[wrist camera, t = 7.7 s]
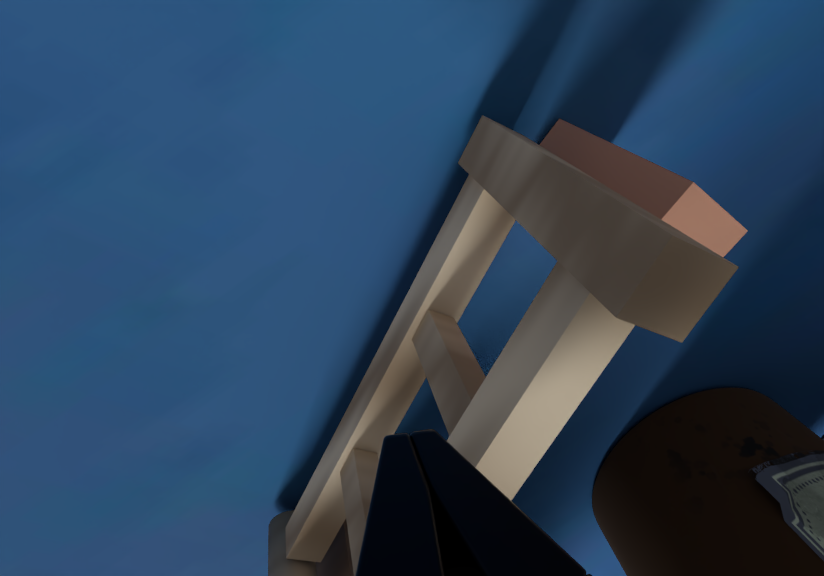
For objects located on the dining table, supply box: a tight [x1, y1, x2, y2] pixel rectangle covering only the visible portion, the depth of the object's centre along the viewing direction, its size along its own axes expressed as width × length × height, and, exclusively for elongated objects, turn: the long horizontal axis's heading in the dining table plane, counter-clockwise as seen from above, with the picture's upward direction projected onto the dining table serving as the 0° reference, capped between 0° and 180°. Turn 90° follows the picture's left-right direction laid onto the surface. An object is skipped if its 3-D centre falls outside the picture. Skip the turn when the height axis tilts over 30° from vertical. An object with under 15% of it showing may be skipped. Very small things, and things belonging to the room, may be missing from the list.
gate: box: [268, 115, 739, 576], centre depth 15 cm, size 17×2×8 cm, turn 154°
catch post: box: [540, 118, 748, 257], centre depth 14 cm, size 2×2×6 cm
